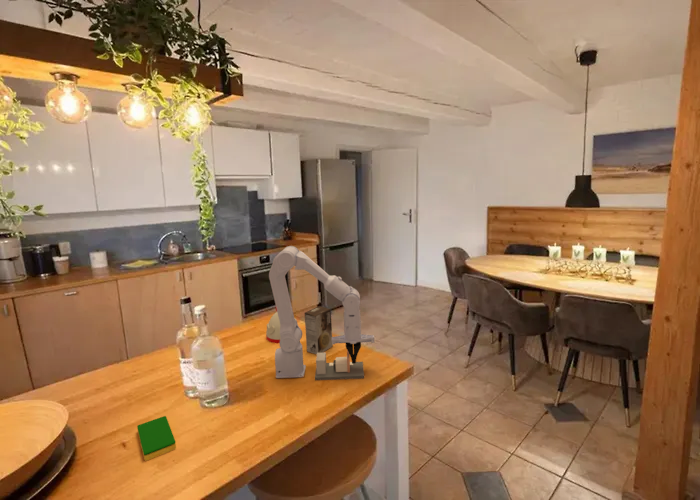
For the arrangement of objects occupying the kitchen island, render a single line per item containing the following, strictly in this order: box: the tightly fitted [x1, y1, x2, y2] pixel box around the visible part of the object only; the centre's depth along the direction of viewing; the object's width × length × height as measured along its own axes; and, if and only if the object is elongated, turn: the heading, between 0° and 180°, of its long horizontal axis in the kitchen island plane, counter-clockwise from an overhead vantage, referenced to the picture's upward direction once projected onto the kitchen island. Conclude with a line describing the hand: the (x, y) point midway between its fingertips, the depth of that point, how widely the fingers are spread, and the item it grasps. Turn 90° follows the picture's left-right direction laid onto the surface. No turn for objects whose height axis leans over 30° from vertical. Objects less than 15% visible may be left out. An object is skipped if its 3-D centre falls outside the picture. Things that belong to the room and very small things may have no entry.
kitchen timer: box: [265, 306, 298, 344], centre depth 160 cm, size 14×14×15 cm
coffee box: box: [304, 305, 334, 355], centre depth 146 cm, size 9×6×16 cm
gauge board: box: [314, 351, 365, 381], centre depth 129 cm, size 16×10×6 cm, turn 91°
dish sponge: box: [136, 415, 177, 462], centre depth 97 cm, size 7×14×2 cm, turn 35°
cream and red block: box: [332, 349, 351, 372], centre depth 129 cm, size 6×8×5 cm
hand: (353, 362), depth 129 cm, fingers closed
